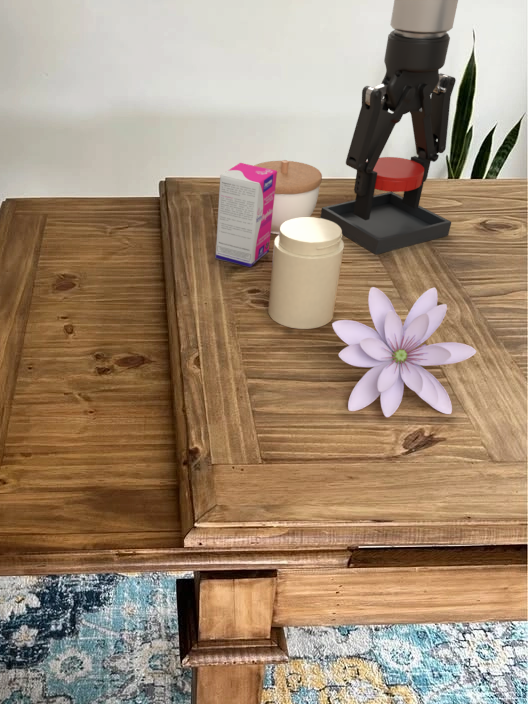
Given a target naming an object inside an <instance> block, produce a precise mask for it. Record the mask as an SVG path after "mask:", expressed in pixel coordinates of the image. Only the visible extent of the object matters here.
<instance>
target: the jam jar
mask: <svg viewBox="0 0 528 704" xmlns="http://www.w3.org/2000/svg"><path fill="white" fill-rule="evenodd" d="M343 236H344V235H342V230H341V228H340V226H338V225H337V224H336V223H334V222H332V221H329V220H326V219H322V218H321V217H313V216H310V217H300V218H294V219H290V220H287V221H285V222H284V223H283V224H282V225H281V226H280V231H279V234H277V235H276V236H275V238H274V240H273V250H272V261H271V272H270V283H269V284H270V285H269V294H268V295H269V297H268V306H267V312H268V316H269V317H270V318H271V320H273V322H275V323H277V324H279V325H281V326H284V327H287V328H292V329H296V330H297V329H298V330H312V329H317V328H321V327H324V326H325V325H328V324H329V323H330V322H331V321H332V320H333V319H334V314H335V308H336V303H337V302H336V301H337V295H338V289H339V284H340V283H339V282H340V276H341V270H342V262H343V256H344V249H345V243H344V240H343Z"/></svg>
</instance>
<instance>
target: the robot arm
mask: <svg viewBox="0 0 528 704" xmlns="http://www.w3.org/2000/svg"><path fill="white" fill-rule="evenodd" d="M458 3H459V0H393V5H392V12H391V18H390V26H391V29H393V30H392V31H390V33H389V34H388V35H387V41H386V46H385V47H386V48H385V52H384V53H385V54H384V66H385V70H386V71H385V75H384V77H383V79H382V81H381V84H378V85H375V86H373V87H372V86H369V85H365V86H364V87H363V88H362V90H361V107H360V110H359V114H358V117H357V120H356V124H355V128H354V132H353V134H352V137H351V142H350V145H349V148H348V151H347V155H346V159H345V165H346V166H347V167H349V168H351V169H353V170H355V171H356V173H355V174H356V175H355V181H354V189H353V192H354V194H355V199H354V200H355V207H354V213H353V214H355V215H357V216H358V217H360V218H362V219H364V220H369V218H370V213H371V207H372V201H373V196H374V195H375V190H376V189H375V184H376V179H377V172H375V171H373V169H374V167H375V165H376V163H377V161H378V159H379V158H381V157H380V156H381V155H382V153H383V151H384V149H385V147H386V145H387V142H388V141H389V138H390V136H391V135H392V132H393V130H394V128H395V126H396V125H397V124H398V123H400V122H401V120H402V118H403V116H404V115H407V114H409V113H410V117H411V123H412V131H413V138H414V145H415V151H416V155H417V156H416V155H413V156H411V157H410V160H412V161H415V162H417V163H419V164H421V165H422V166H423V167H424V175H423V179H422V184H421V185H420V187H418V188H416V189H414V190H410V191H404V192H403V195H402V197H403V200H402V202H403V203H405V204H407V205H408V206H410V207H412V208H418V206H420V200H421V197H422V192H423V187H424V183H426V181H427V179H428V175H429V170H430V168H431V167H430V166H431V163H434V162H436V161H437V160H438V159H439V157H440V155H439V154H444V152H445V151H446V148H447V139H448V138H447V137H448V128H449V118H450V107H451V97H452V94H453V90H454V88H455V86H456V81H457V80H456V77H454V76H451V75H448V74H444V73H442V72H439V71H440V69H442V68H443V67H444V66H445V63H446V60H447V54H448V49H449V44H450V40H451V37H450V35H449V33H448V32H450V31H451V30H452V29H453V28H454V23H455V17H456V12H457V9H458V8H457V7H458ZM389 111H390V112H389ZM366 161H368V162H366Z"/></svg>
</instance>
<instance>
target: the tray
mask: <svg viewBox="0 0 528 704" xmlns="http://www.w3.org/2000/svg"><path fill="white" fill-rule="evenodd" d="M355 200H356V199H354V200H353V199H352V200H348V201H344V202H340V203H336V204H331V205H327V206H323V207H321V211H320V218H322V219H326V220H329V221H332V222H334V223H336V224H337V225H338V226H340V228H341V230H342V235H343V236H344V237H345V238H348V239H349V240H351V241H352V242H353V243H356V244H357V245H359V246H361V247H362V248H364V249H365V250H367V251H369V252H370V253H372V254H374V255H380V254H384V253H388V252H392V251H395V250H400V249H404V248H406V247H409V246H410V247H411V246H414V245H418V244H422V243H425V242H430V241H434V240H437V239H441V238H444V237H448V236H449V234H450V233H449V232H450V229H451V226H452V221H451V220H449V219H447V218H444V216H441V215H439V214H437V213H435V212H433V211H431V210H429V209H427V208H425V207H423V206H421V205H419V206H418V208H412V207H410V206H408V205H407V204H405V203H403V202H402V200H403V196H401V195H399V194H397V193H396V192H389V191H386V192H384V193H383V192H382V193H380V194H374V196H373V201H372V207H371V213H370V218H369V220H364V219H362V218H360V217H358V216H357V215H355V214H353V213H354V207H355Z"/></svg>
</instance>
